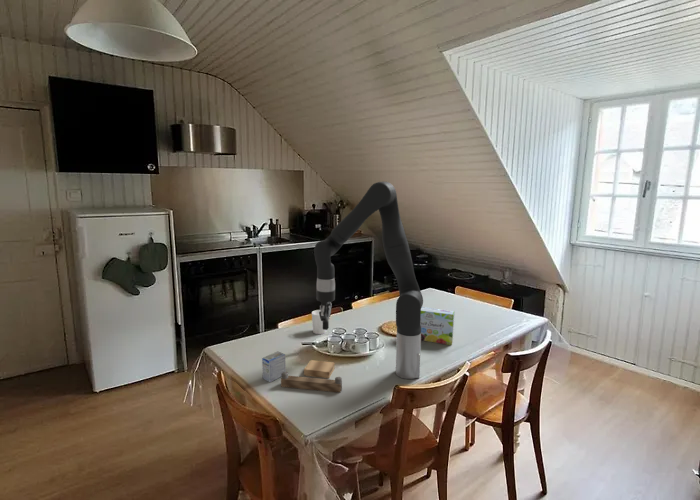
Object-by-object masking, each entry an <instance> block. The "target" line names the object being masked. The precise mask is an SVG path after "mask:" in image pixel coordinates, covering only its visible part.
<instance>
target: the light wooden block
mask: <svg viewBox="0 0 700 500" xmlns="http://www.w3.org/2000/svg"><path fill="white" fill-rule="evenodd" d="M334 371H335V362H333V361H325V360H313V359H311V360H309V362H308V363H307V365H305V367H304V369H303V377H312V378H320V379H330V378H331V376H332V374H333V372H334Z"/></svg>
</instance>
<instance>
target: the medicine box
mask: <svg viewBox="0 0 700 500" xmlns="http://www.w3.org/2000/svg"><path fill="white" fill-rule="evenodd" d="M261 367H262V379H263V380H265V381H267V382H269V383H271V382H273V381H276V380H277V379H279V378H280V379H281V378H282V373H283V372H287V371H286V368H287V367H286V354H285V353H283V352H282V351H281V352H280V351H276V352H273V353H271V354H268V355H266V356H264V357H261Z"/></svg>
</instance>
